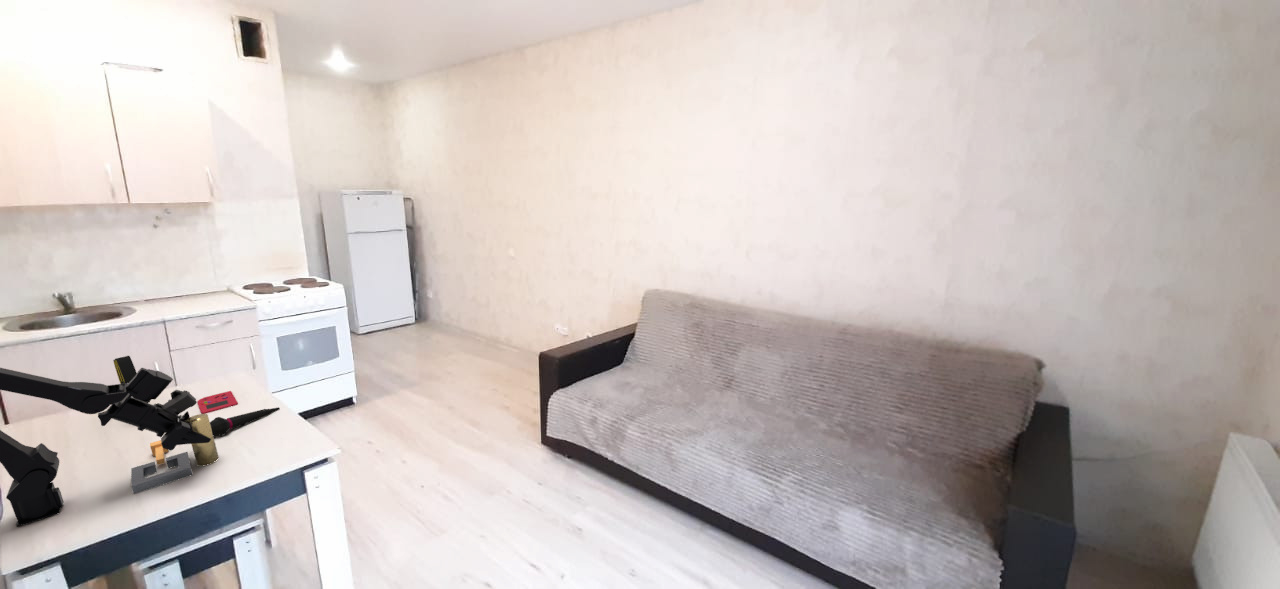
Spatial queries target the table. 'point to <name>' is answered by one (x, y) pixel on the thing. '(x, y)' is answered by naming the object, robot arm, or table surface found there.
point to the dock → (140, 472)
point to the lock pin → (158, 451)
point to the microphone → (237, 421)
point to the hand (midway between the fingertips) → (208, 437)
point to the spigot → (203, 451)
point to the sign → (125, 370)
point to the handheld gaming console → (216, 402)
